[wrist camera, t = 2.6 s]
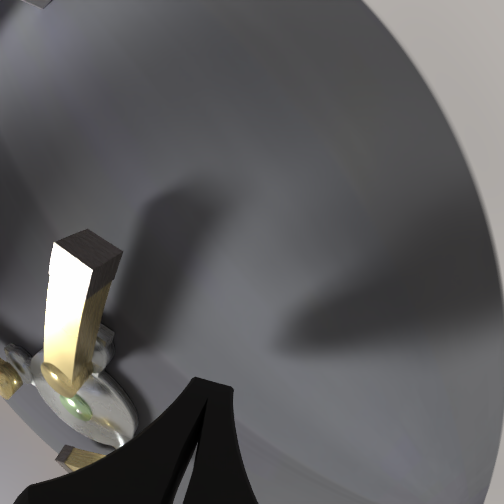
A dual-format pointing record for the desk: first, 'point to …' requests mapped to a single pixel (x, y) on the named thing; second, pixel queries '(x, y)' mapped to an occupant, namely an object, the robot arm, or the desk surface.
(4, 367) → the lever
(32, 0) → the lighter
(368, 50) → the desk surface
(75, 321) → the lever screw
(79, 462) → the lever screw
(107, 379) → the base
